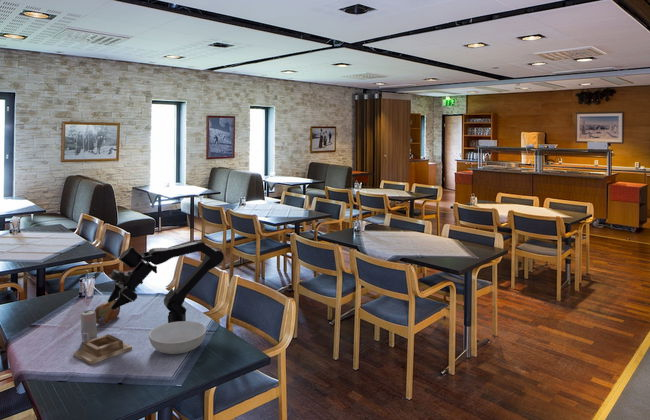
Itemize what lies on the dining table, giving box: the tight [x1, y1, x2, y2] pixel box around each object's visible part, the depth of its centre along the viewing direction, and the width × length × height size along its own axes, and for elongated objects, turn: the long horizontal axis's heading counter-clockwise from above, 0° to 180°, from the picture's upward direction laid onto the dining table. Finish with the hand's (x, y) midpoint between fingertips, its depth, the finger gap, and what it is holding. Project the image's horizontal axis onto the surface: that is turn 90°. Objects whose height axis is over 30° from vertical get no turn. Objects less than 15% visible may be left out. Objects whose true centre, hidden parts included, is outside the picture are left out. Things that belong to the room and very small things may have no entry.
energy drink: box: [80, 309, 98, 344], centre depth 190 cm, size 5×5×12 cm
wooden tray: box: [73, 333, 133, 365], centre depth 181 cm, size 16×12×4 cm
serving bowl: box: [148, 320, 207, 355], centre depth 186 cm, size 21×21×7 cm
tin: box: [94, 299, 121, 326], centre depth 212 cm, size 15×3×8 cm, turn 168°
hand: (110, 305), depth 193 cm, fingers open, 9 cm apart
